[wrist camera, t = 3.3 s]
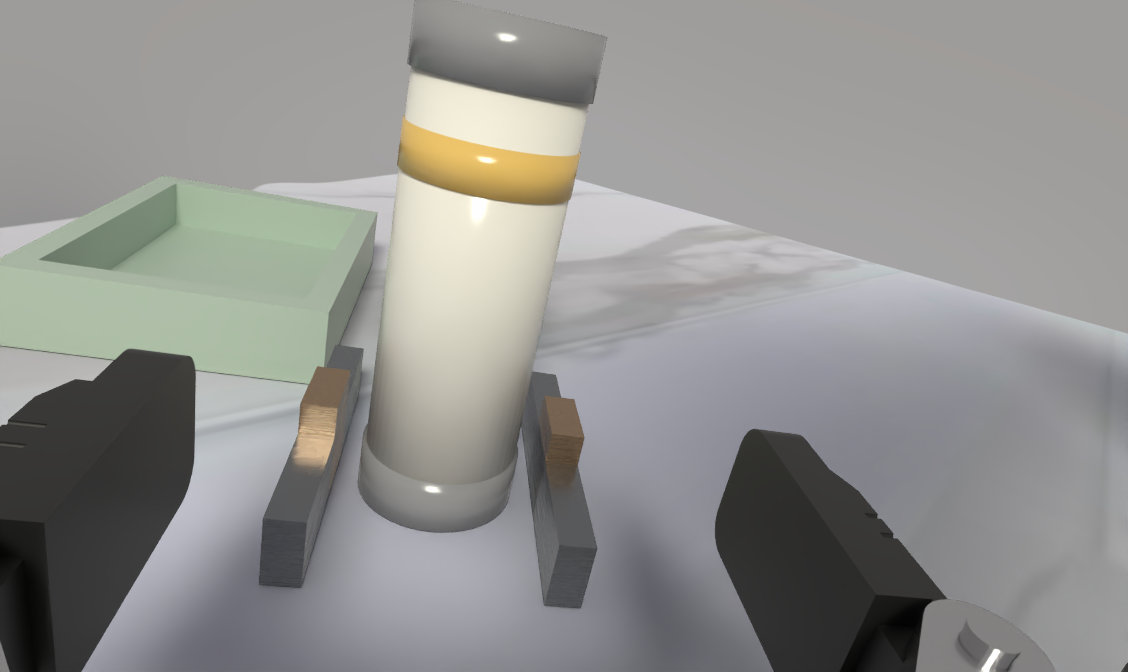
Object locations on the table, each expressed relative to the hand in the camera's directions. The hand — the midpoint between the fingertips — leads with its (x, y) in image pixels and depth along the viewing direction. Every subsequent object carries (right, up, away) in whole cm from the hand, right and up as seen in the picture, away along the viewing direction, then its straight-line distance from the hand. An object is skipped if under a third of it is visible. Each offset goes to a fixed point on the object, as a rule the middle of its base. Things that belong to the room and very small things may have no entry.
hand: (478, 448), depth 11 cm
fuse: (-3, -3, +13) cm, 13 cm away
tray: (-14, +4, +22) cm, 27 cm away
